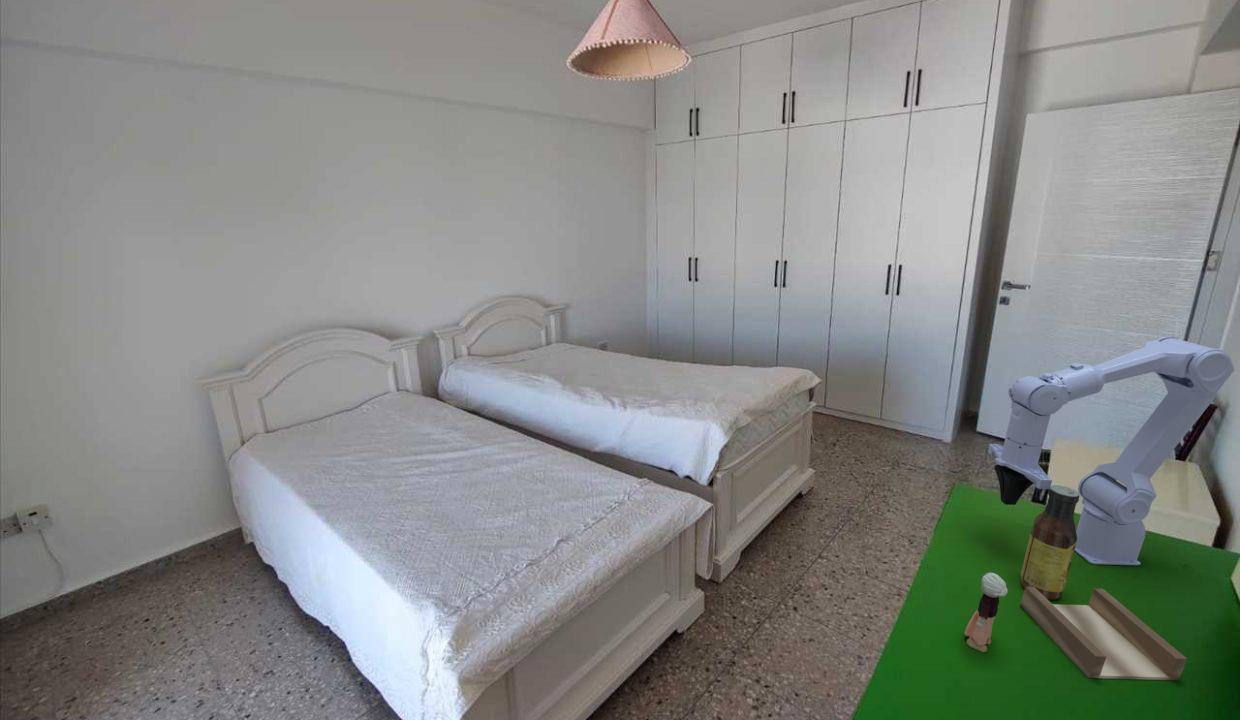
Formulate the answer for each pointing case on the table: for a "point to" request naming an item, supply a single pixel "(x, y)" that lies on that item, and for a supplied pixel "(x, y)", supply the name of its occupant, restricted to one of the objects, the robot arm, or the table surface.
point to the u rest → (1105, 638)
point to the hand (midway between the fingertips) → (1008, 502)
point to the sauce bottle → (1051, 544)
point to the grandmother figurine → (985, 612)
